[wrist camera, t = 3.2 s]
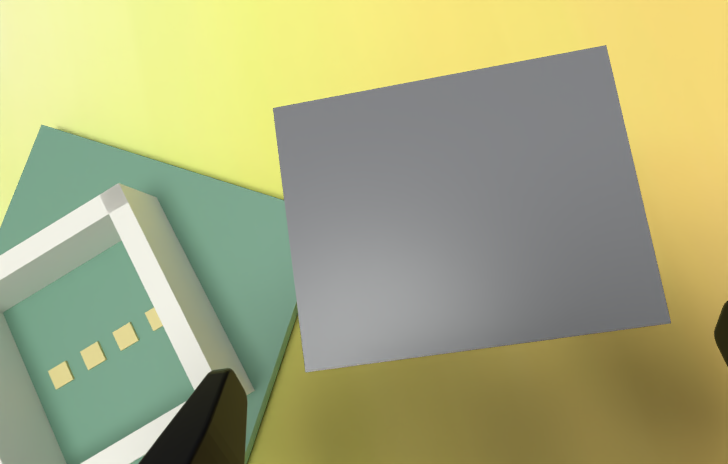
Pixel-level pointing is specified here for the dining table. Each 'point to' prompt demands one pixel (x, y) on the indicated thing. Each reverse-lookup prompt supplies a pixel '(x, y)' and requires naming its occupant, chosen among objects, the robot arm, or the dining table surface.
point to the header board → (131, 300)
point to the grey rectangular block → (466, 213)
